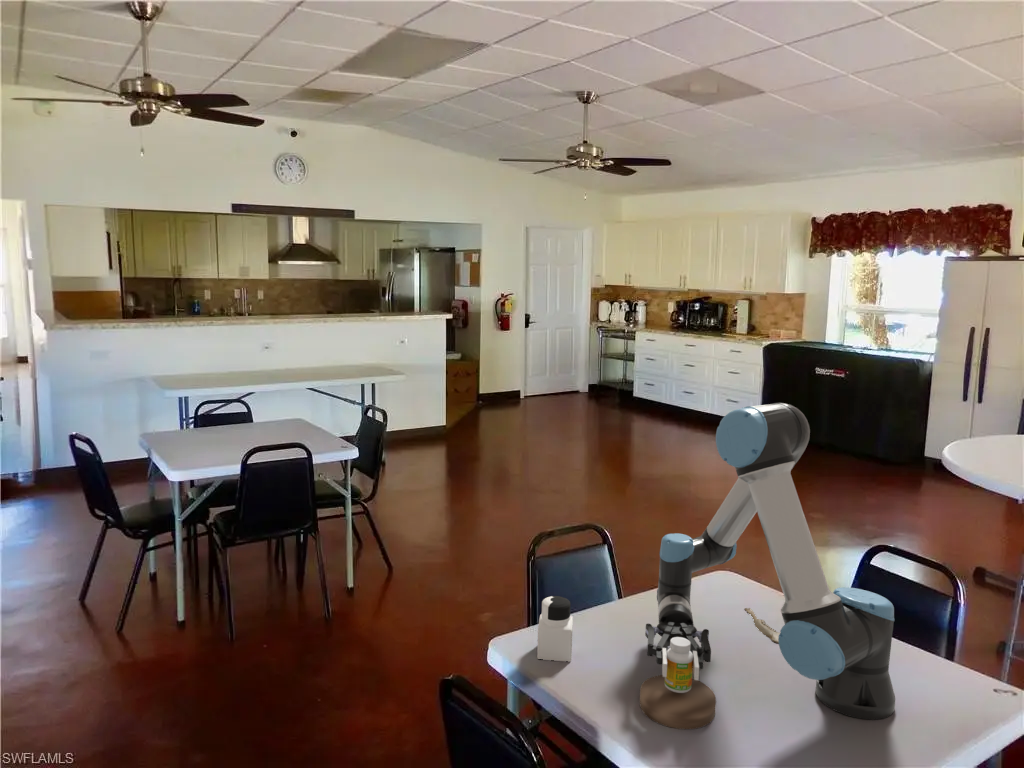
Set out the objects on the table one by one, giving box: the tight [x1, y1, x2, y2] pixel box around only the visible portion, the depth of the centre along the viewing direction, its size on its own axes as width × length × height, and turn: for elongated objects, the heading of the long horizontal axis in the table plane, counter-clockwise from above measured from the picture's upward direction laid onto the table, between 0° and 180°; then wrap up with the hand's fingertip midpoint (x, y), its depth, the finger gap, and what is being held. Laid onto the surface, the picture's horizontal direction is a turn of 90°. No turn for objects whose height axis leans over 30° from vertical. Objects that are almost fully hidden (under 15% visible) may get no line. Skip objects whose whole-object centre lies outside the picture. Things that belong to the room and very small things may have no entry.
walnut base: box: [639, 674, 717, 730], centre depth 156 cm, size 15×15×3 cm
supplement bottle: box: [665, 637, 693, 693], centre depth 154 cm, size 5×5×10 cm
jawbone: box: [744, 607, 781, 645], centre depth 191 cm, size 9×20×2 cm, turn 33°
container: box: [536, 595, 574, 663], centre depth 176 cm, size 8×8×13 cm
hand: (680, 671), depth 149 cm, fingers closed on supplement bottle, 5 cm apart
